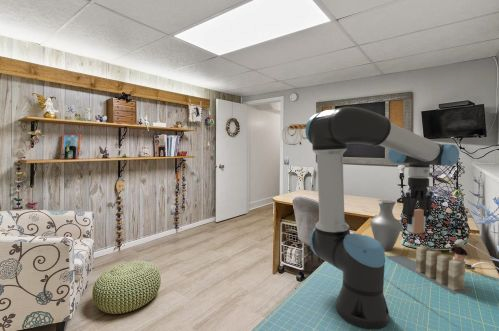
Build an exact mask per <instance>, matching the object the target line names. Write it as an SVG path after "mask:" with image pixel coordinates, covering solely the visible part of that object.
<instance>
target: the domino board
mask: <svg viewBox="0 0 499 331" xmlns="http://www.w3.org/2000/svg"><path fill="white" fill-rule="evenodd" d="M385 258H387V259H389V260H391V262H395V263H396V264H398V265H400V266H402V267H403V268H405V269H407V270H409V271H411V272H412V273H415V274H417V275H418V276H420V277H422V278H424V279H426V280H428V281H429V282H431V283H433V284H435V285H436V286H439V287H440V288H443V289H444V290H446V291H448V292H449V293H451V294H454V295H458V294H464V293H471V292H474V290H473V289H471V288H470V287H467V286H465V285H464V289H459V290H452V289H450V288H448V283H444V284H440V283H438V282H437V281H436V277H434V278H429V277H427V276H425V273H426V272H421V273H420V272H418V271H416V260H412V259H410V258H408V257H406V256H404V255H402V254H397V255H395V254H394V255H388V256H385Z"/></svg>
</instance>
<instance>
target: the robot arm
mask: <svg viewBox="0 0 499 331" xmlns="http://www.w3.org/2000/svg"><path fill="white" fill-rule="evenodd" d="M304 130H305V132H304V133H305V137H306V139H307V140H308V143H310V144H311V146H312V152H313V153H315V155H316V159H317V161H316V162H317V186H318V189H317V193H318V219H319V220H318V221H317V222H316V223H315V224H314V225H315V226H314V228H313V230H312V232H311V233H310V235H309V246H310V249H311V252H313V254H314V255H316V256H317V257H318V258H319V259H321V260H322V261H324V262H326V263H328V264H329V265H331V266H333V267H334V268H337V269H338V270H340V271H341V272H342V285H341V288H340V290H339V292H338V295H337V298H336V301H335V303H336V306H335V308H336V311H337V313H338V315H339V316H340V317H341V318H342V319H344V320H345V321H346V322H348V323H349V324H352V325H353V326H357V327H360V328H363V329H367V330H368V329H370V330H377V329H383V328H384V327H386V326H387V325H388V324H389V320H390V311H389V308H388V305H387V301H386V298H385V294H384V285H385V284H384V283H385V281H384V279H385V265H386V264H385V263H386V256H385V250H384V247H383V246H382V244H381V243H380V242H378V241H377V240H375V239H374V237H371V236H368V235H367V234H365V235H363V234H361V233H350V225H349V224H348V223H347V222H346V221H345V195H344V193H345V192H344V188H345V186H344V185H345V184H344V156H343V155H344V154H345V152H346V151H347V150H348V145H349V144H350V145H351V144H359V145H360V144H362V145H367V146H369V147H370V146H371V147H378V146H379V147H382V148H385V149H388V151H387V158H388V160H389V161H390V162H391V163H393V164H397V165H401V164H403V165H404V164H405V165H408V171H407V172H408V173H407V175H408V176H409V177H407V186H409V188H408V190H407V191H402V196H403V198H402V199H403V200H402V215H404V216H406V225H407V228H406V231H408V232H409V231H410V232H412V233H413V232H414V221H415V217H413V214H414V210H415V209H416V206H417V204H418V209H422V210H424V216H423V233H424V232H426V223H427V217H430V215H432V203H433V202H432V198H433V195H434V192H433V191H431V190H428V188H429V186H430V178H429V177H430V171H431V170H430V169H431V168H430V167H431V166H442V167H445V166H447V167H448V166H454V165H456V164H457V163H458V161H459V159H460V158H459V157H460V150H459V148H458V146H457V145H456V144H452V143H451V144H450V143H444V144H441V143H438V142H437V141H433V140H430V139H429V138H427V137H424V136H422V135H419V134H417V133H415V132H412V131H410V130H408V129H405V128H403V127H401V126H398V125H397V124H394V123H392V122H391V120H390V118H388V117H387V116H384V115H382V114H380V113H376V112H375V111H371V110H369V109H365V108H361V107H355V106H344V107H339V108H333V109H327V110H323V111H320V112H317V113H315V114H313V115H312V116H310V118H309V119H308V120H307V122H306V126H305V129H304ZM412 233H411V234H412Z"/></svg>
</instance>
